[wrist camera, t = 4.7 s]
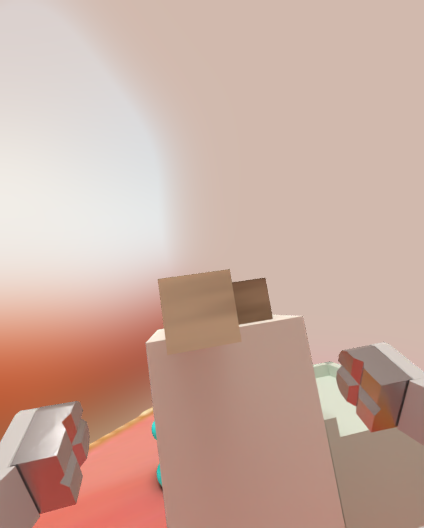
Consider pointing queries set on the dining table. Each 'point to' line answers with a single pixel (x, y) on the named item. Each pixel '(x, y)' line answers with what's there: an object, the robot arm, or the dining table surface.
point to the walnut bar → (252, 301)
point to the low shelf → (370, 463)
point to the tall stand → (243, 432)
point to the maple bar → (198, 311)
